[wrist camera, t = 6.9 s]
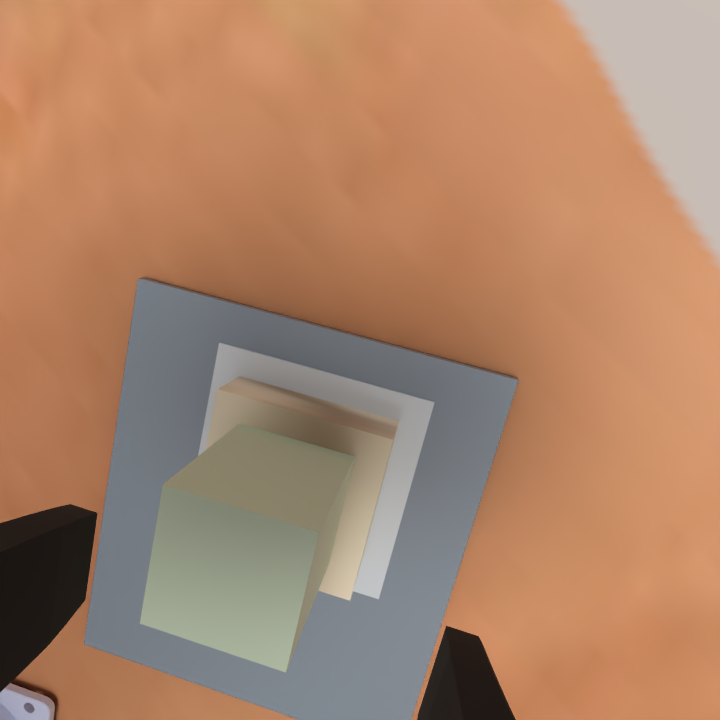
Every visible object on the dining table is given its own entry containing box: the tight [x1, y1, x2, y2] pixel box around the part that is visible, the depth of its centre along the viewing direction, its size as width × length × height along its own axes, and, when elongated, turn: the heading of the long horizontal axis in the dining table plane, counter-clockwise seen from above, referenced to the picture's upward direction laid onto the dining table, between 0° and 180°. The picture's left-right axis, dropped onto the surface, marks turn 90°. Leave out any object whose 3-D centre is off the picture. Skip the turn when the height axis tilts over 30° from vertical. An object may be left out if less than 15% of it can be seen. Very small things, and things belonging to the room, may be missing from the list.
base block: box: [206, 376, 399, 601], centre depth 20 cm, size 6×6×2 cm
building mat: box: [84, 278, 519, 720], centre depth 21 cm, size 14×16×1 cm
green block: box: [140, 424, 355, 672], centre depth 16 cm, size 4×4×5 cm
